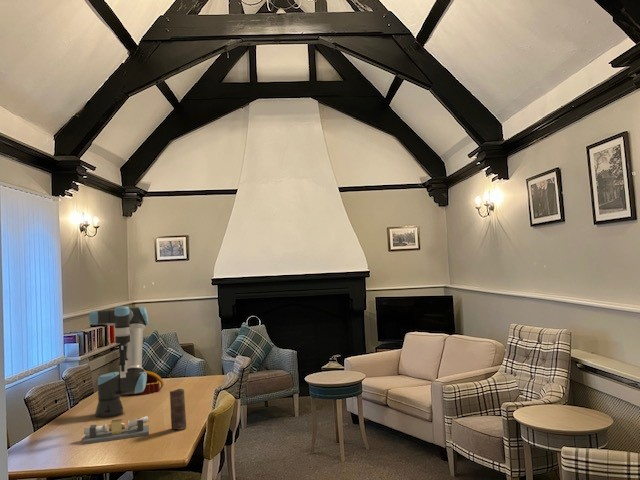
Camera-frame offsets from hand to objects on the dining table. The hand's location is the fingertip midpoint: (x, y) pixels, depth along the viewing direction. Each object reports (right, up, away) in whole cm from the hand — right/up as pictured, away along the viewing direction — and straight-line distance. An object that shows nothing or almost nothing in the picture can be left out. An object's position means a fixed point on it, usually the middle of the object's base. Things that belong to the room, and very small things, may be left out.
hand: (123, 375), depth 273 cm
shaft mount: (+4, -26, -18) cm, 32 cm away
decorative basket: (-21, -33, +81) cm, 90 cm away
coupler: (+4, -24, -18) cm, 30 cm away
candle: (+33, -25, -11) cm, 43 cm away
